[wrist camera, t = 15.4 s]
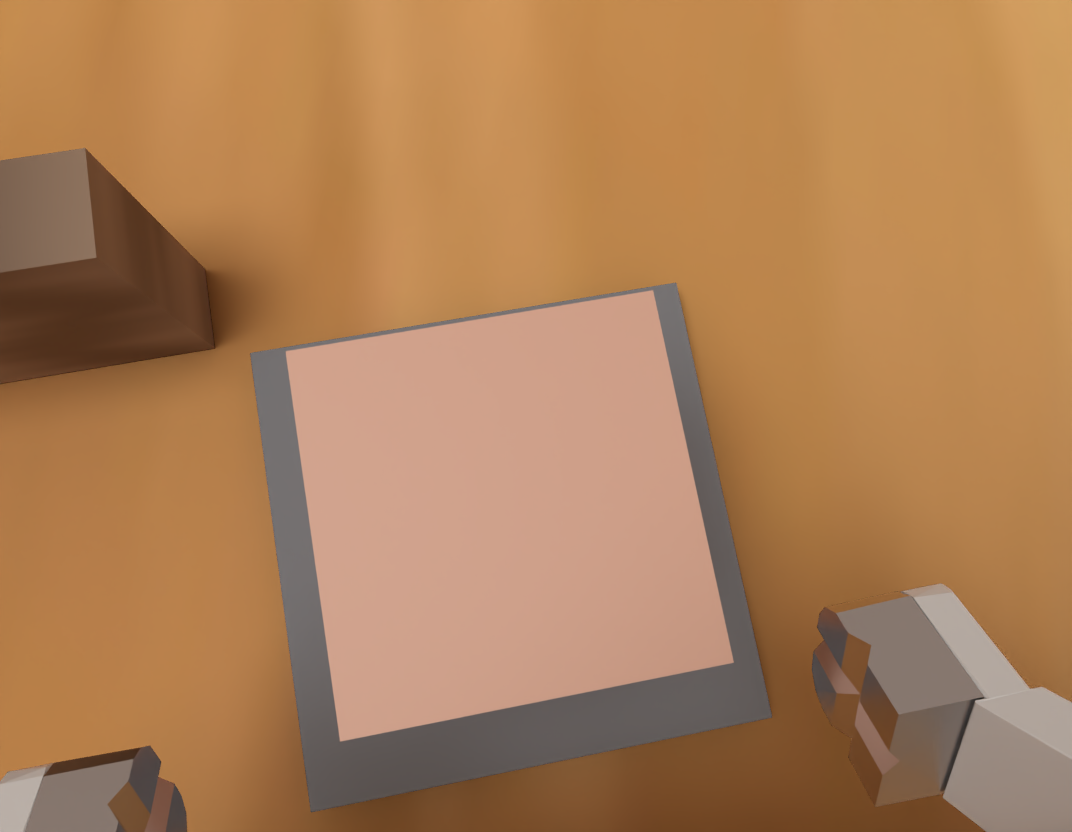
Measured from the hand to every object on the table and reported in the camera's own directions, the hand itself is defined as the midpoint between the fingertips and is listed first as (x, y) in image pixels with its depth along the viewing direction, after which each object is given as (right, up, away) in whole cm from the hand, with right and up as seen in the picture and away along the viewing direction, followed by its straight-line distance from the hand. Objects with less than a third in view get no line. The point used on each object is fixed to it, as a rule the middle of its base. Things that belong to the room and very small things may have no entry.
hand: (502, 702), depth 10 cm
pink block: (0, +1, +9) cm, 9 cm away
